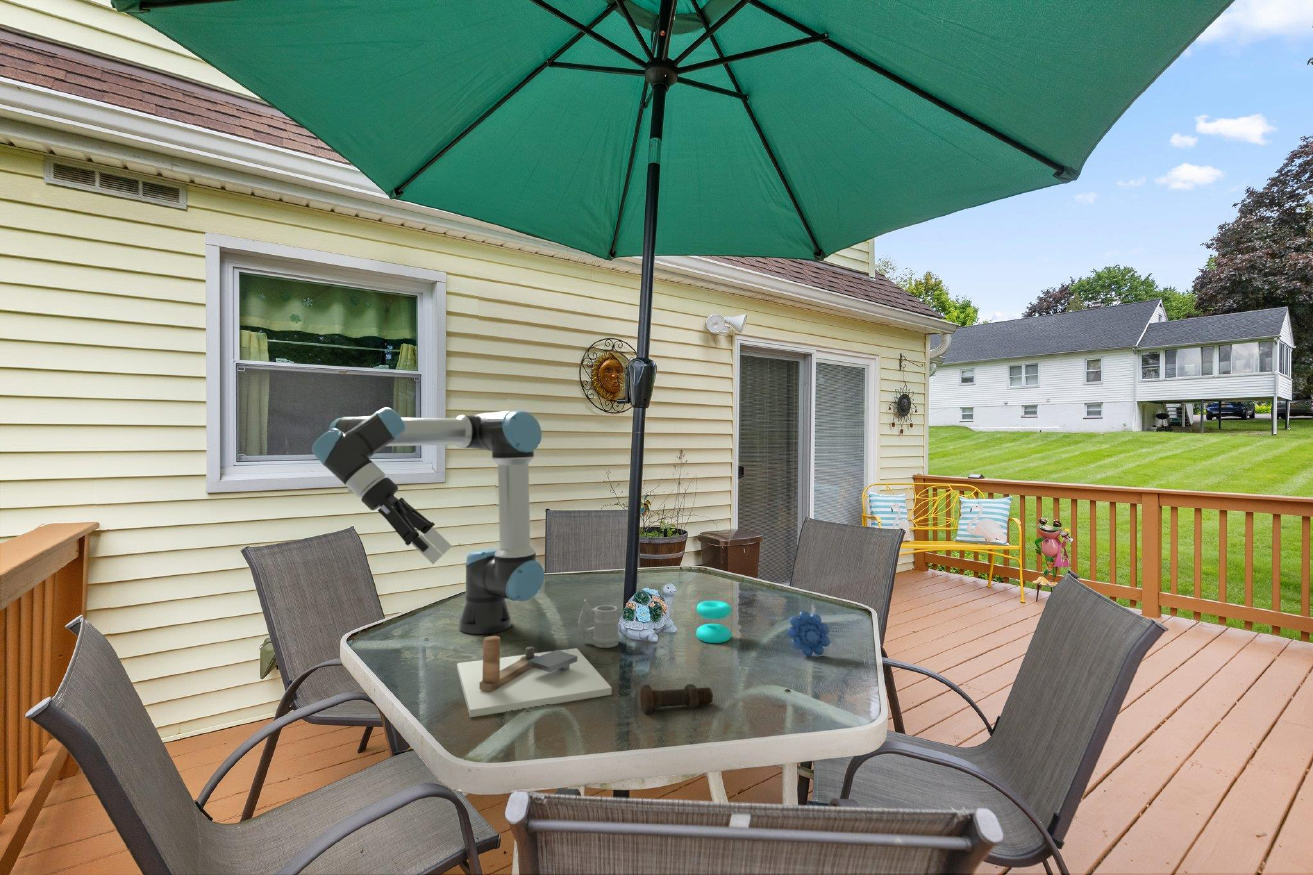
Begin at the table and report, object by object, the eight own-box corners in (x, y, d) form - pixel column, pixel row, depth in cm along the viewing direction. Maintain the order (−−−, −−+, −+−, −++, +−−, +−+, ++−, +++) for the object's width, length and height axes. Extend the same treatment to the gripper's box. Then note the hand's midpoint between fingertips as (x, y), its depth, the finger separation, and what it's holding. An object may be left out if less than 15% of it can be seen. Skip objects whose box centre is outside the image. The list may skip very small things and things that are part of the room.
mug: (617, 648, 161) (618, 604, 162) (574, 647, 162) (575, 603, 162) (621, 639, 169) (621, 597, 169) (580, 638, 170) (580, 596, 170)
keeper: (556, 670, 145) (556, 649, 145) (577, 677, 141) (577, 656, 141) (527, 681, 138) (528, 660, 138) (548, 689, 134) (549, 667, 134)
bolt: (711, 714, 126) (643, 719, 122) (705, 694, 131) (638, 698, 127) (717, 696, 124) (647, 700, 120) (710, 676, 128) (642, 679, 124)
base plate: (457, 669, 145) (457, 663, 145) (576, 653, 157) (576, 648, 157) (469, 717, 119) (469, 709, 119) (611, 694, 131) (611, 687, 131)
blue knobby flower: (792, 662, 152) (792, 615, 153) (784, 653, 159) (784, 608, 159) (836, 661, 154) (836, 615, 154) (826, 652, 160) (826, 608, 160)
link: (527, 660, 147) (527, 617, 147) (542, 662, 145) (543, 619, 146) (476, 688, 129) (477, 640, 129) (493, 692, 127) (494, 642, 128)
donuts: (694, 607, 167) (698, 598, 177) (694, 643, 167) (698, 632, 177) (730, 609, 165) (732, 600, 175) (730, 645, 165) (731, 634, 175)
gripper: (376, 495, 146) (440, 557, 148) (341, 503, 122) (419, 577, 125) (399, 473, 147) (463, 535, 149) (370, 478, 123) (446, 551, 126)
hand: (443, 554), depth 137 cm, fingers open, 11 cm apart
